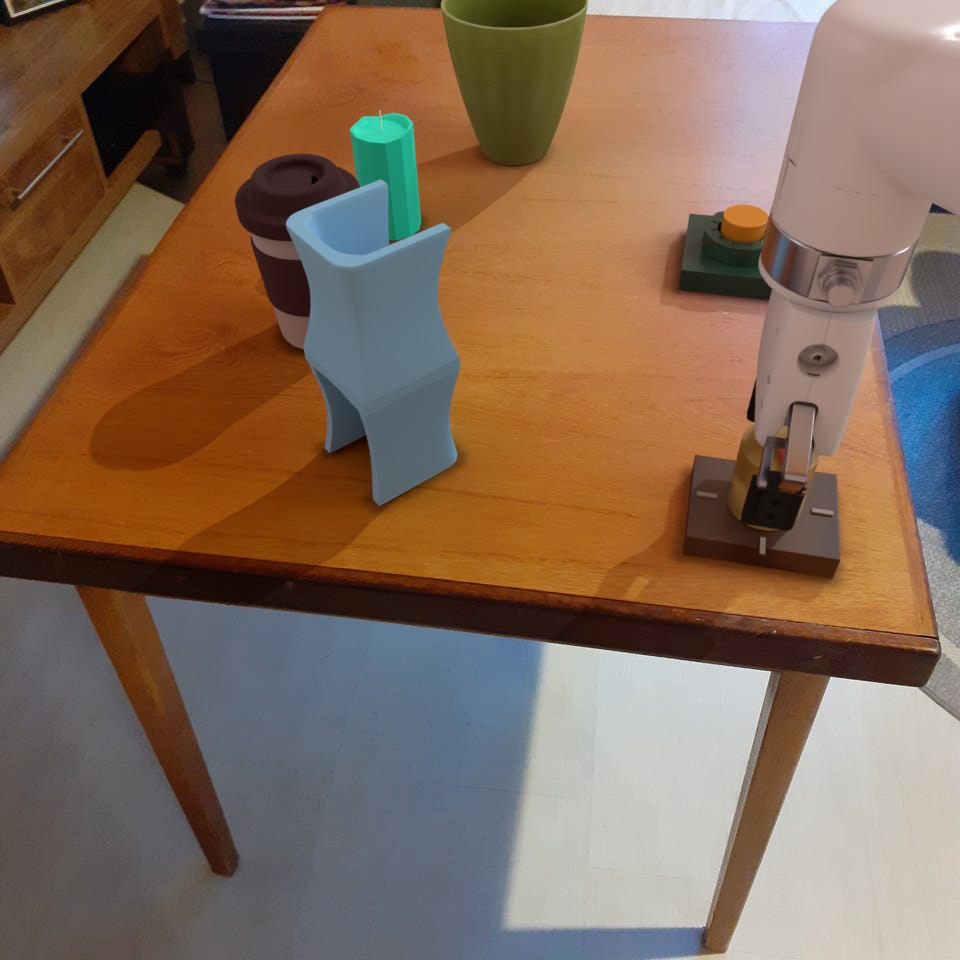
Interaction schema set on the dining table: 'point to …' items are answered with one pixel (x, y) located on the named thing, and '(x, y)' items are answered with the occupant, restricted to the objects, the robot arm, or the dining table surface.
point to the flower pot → (514, 70)
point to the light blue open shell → (379, 336)
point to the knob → (749, 466)
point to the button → (744, 223)
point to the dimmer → (733, 541)
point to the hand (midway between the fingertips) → (767, 470)
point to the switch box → (720, 261)
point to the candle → (390, 167)
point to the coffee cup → (265, 214)
